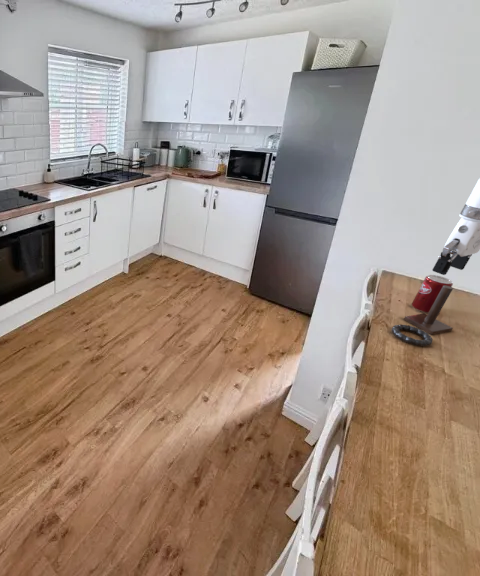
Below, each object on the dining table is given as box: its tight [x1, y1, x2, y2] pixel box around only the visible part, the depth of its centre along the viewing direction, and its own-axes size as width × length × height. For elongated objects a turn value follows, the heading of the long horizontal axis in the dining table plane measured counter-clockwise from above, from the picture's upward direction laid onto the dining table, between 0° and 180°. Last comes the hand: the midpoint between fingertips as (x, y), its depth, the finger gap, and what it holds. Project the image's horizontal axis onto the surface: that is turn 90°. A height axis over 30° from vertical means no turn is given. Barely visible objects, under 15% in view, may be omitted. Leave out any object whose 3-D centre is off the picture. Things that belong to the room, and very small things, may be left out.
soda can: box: [411, 274, 454, 315], centre depth 128 cm, size 7×7×12 cm
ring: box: [391, 324, 434, 347], centre depth 114 cm, size 10×10×2 cm
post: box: [403, 285, 454, 336], centre depth 118 cm, size 9×9×14 cm
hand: (447, 270), depth 108 cm, fingers open, 9 cm apart
